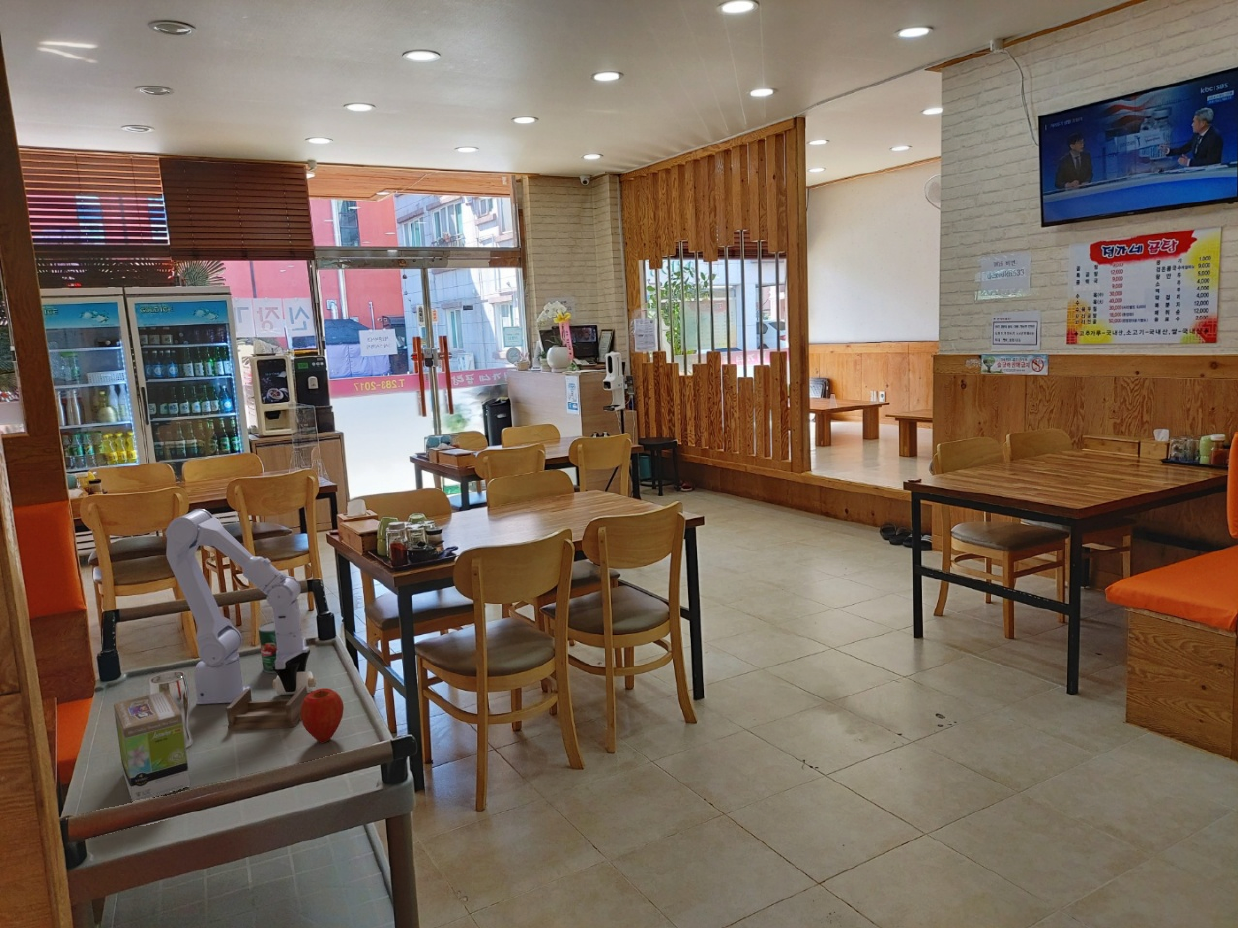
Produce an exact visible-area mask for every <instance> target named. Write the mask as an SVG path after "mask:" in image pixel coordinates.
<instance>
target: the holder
mask: <svg viewBox="0 0 1238 928" xmlns="http://www.w3.org/2000/svg"><path fill="white" fill-rule="evenodd" d="M251 692H252V691H251V688H250V689H245V690H244V691H243V692H242V693H241V694H240V695H239V696H238V697H237V698H236V699H235V700H234V701H233V702H231V703H230V704H229V705H228V706H227V707H226V713H227V722H228V725H227V730H228V731H243V730H263V729H264V730H265V729H280V728H281V729H282V728H294V727H295V726H296V725H297V724H298V723H299V721H301V716H300V712H301V705H302V702H303V700H304V698H305V697H306V696H307V695H308V694H307V688H306V686H301V687H300V689H299V690H298V691H297V692H296V693H295V694H293V696H291V698H285V699H284V698H283V699H282V698H281V699H267V700H266V699H263V700H252V693H251Z"/></svg>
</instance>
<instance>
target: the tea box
mask: <svg viewBox="0 0 1238 928" xmlns="http://www.w3.org/2000/svg"><path fill="white" fill-rule="evenodd" d="M113 708H114V709H113V710H114V717H115V723H116V731H117V738H118V746H119V752H120V761H121V769H122V773H123V775H124V779H125V782H126V785H127V789H128V793H129V796H131V797H130V799H132V800H131V802H132V801H135V800H140V799H146V798H150V797H154V796H159V797H162V796H166V795H168V794H172V793H173V792H170V791H175V790H177V791H175V792H178V789H181V790H184V789H183V787H187V786H189V787H190V786H191V785H190V784H191V781H190V779H191V778H190V772H189V764H188V756H187V748H186V746H185V738H184V730H183V721H182V715H181V713H180V710H179V709H178V707H177V705H176V703H175V701H174V699H173V697H172V695H171V694H170V692H169V691H164V692H159V693H155V694H151V695H150V694H148V695H144V696H143V695H142V696H139V697H135V698H131V699H127V700H123V701H120V702H115V703H114V705H113ZM181 790H180V791H181ZM165 794H166V795H165ZM161 795H162V796H161Z"/></svg>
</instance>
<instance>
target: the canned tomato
mask: <svg viewBox="0 0 1238 928" xmlns="http://www.w3.org/2000/svg"><path fill="white" fill-rule="evenodd" d="M258 635H259V642H260V643H259V645H260V652H261V661H262V670H263V672H265V673H267V674H268V673H269V674H277V673H276V672H275V671H274V670H273V665H274V663H275V660H276V653H277V643H276V635H275V626H274V620H273V621H268V622H265V623H263V624H261V625H259V627H258Z"/></svg>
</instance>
